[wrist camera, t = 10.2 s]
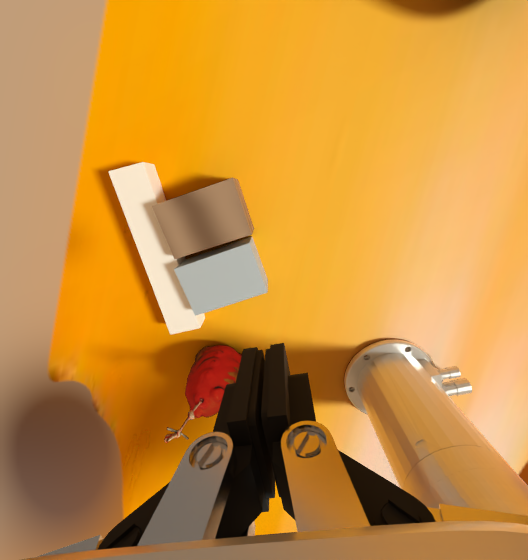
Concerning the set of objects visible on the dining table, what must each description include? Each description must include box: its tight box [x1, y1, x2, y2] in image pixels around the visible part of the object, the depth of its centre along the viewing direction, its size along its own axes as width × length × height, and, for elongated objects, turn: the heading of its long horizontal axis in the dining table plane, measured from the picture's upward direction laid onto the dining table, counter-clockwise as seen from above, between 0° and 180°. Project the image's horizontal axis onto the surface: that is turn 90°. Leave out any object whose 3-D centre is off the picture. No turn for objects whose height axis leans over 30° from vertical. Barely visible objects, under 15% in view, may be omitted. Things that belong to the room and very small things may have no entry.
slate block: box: [174, 236, 268, 316], centre depth 34 cm, size 9×6×5 cm, turn 109°
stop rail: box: [108, 162, 205, 334], centre depth 34 cm, size 4×20×3 cm, turn 14°
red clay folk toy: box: [165, 345, 242, 443], centre depth 33 cm, size 8×7×15 cm
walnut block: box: [152, 178, 254, 259], centre depth 32 cm, size 9×6×5 cm, turn 108°
